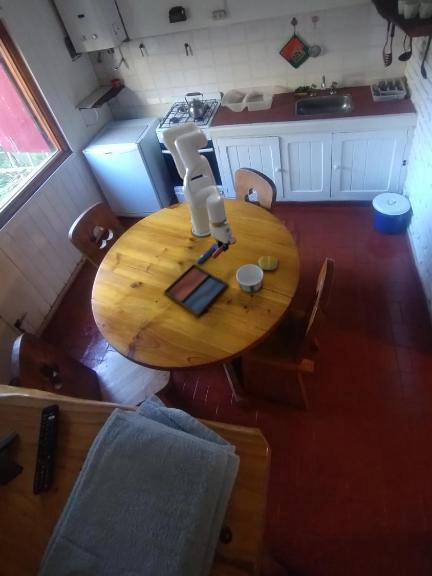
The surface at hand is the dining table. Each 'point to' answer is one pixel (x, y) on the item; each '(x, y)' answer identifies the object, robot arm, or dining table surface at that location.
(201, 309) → the sorting tray
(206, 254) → the blue spoon
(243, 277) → the food container
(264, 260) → the bread roll
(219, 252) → the red spoon
